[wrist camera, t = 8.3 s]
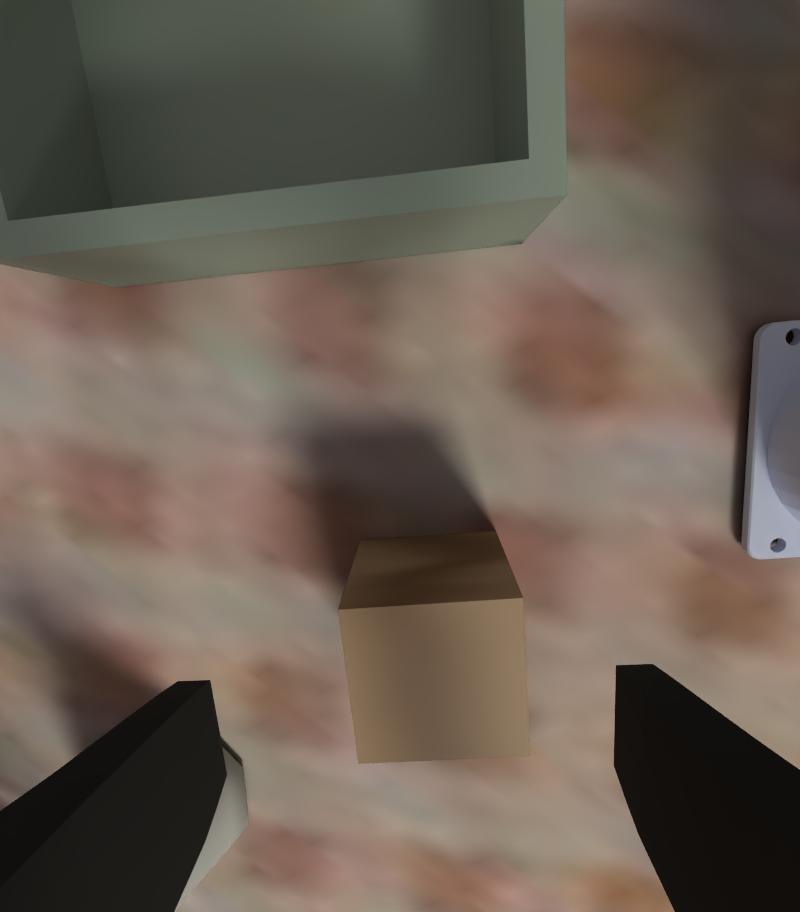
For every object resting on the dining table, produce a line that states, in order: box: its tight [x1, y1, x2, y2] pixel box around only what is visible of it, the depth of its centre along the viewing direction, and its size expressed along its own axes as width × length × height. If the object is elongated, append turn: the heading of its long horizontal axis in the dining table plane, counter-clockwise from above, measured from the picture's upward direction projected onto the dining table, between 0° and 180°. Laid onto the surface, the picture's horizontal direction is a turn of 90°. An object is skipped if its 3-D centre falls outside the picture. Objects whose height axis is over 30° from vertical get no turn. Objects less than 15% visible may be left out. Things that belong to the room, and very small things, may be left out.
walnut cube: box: [338, 530, 530, 764], centre depth 16 cm, size 5×5×5 cm
